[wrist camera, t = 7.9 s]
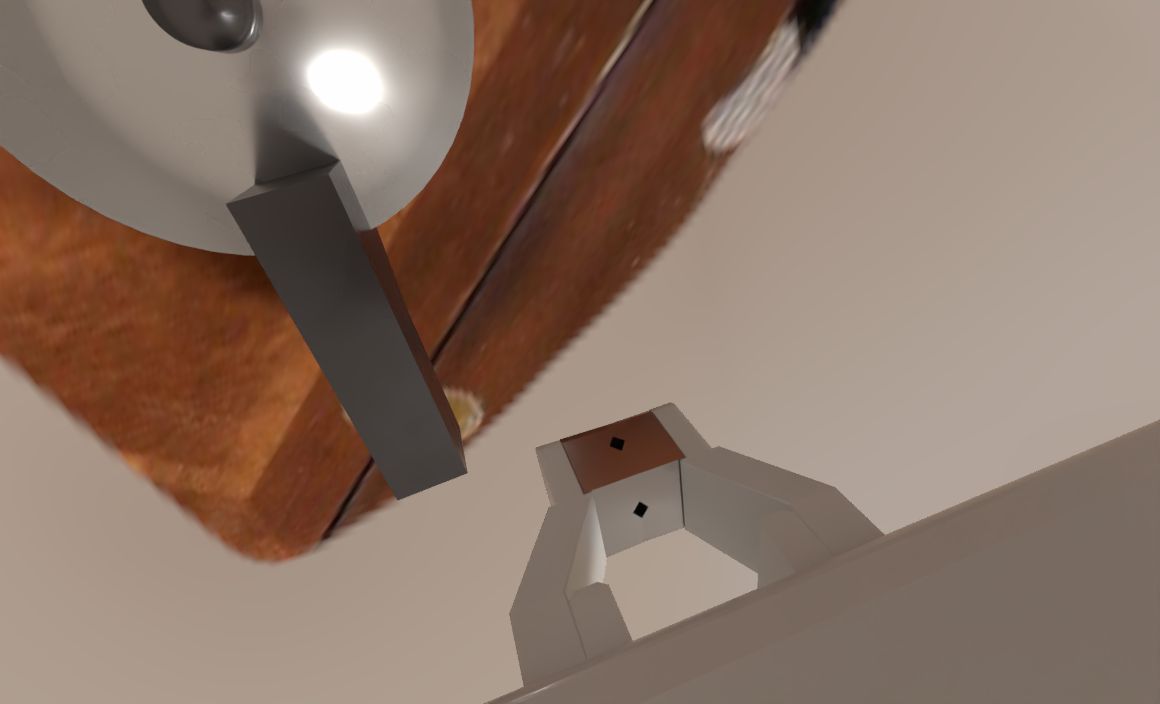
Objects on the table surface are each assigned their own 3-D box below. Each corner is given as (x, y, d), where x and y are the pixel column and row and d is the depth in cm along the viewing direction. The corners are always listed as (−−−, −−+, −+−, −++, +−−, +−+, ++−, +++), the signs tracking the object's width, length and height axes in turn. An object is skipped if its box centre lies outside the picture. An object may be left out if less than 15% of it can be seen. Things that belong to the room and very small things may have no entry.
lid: (-320, -306, 9) (-700, -515, 6) (360, -390, 11) (344, -584, 8) (268, 482, 20) (242, 560, 16) (573, 369, 21) (604, 419, 18)
